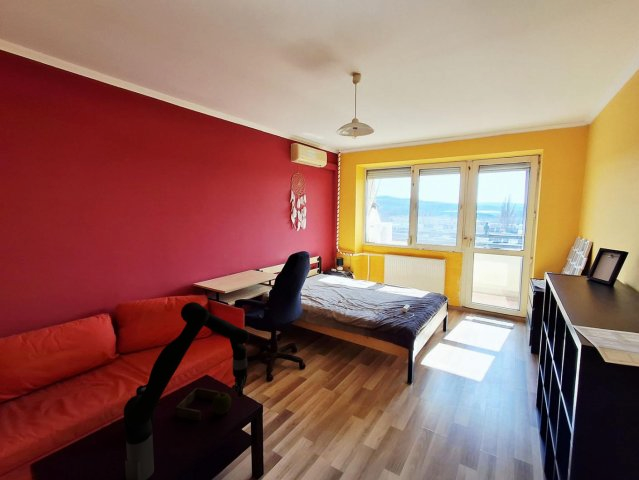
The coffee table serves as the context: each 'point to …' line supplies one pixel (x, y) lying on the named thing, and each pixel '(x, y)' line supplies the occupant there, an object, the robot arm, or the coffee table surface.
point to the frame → (197, 392)
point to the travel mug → (139, 392)
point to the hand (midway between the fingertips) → (240, 395)
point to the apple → (221, 403)
